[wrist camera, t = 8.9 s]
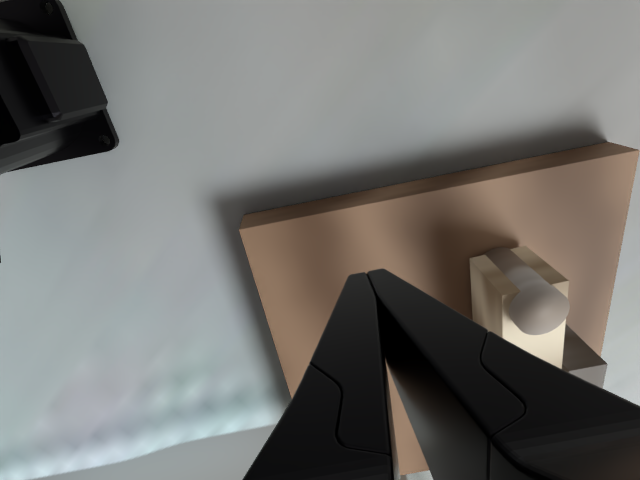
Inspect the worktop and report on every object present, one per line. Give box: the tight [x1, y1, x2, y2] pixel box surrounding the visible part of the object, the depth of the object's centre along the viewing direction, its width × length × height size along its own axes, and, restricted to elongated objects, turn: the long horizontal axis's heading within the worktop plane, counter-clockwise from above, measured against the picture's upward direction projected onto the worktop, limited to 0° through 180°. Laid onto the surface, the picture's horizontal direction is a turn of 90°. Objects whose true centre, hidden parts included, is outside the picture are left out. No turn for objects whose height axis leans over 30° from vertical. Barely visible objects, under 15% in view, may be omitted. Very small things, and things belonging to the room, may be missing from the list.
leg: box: [470, 246, 570, 369], centre depth 21 cm, size 13×3×4 cm, turn 13°
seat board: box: [239, 142, 639, 475], centre depth 23 cm, size 20×22×6 cm
